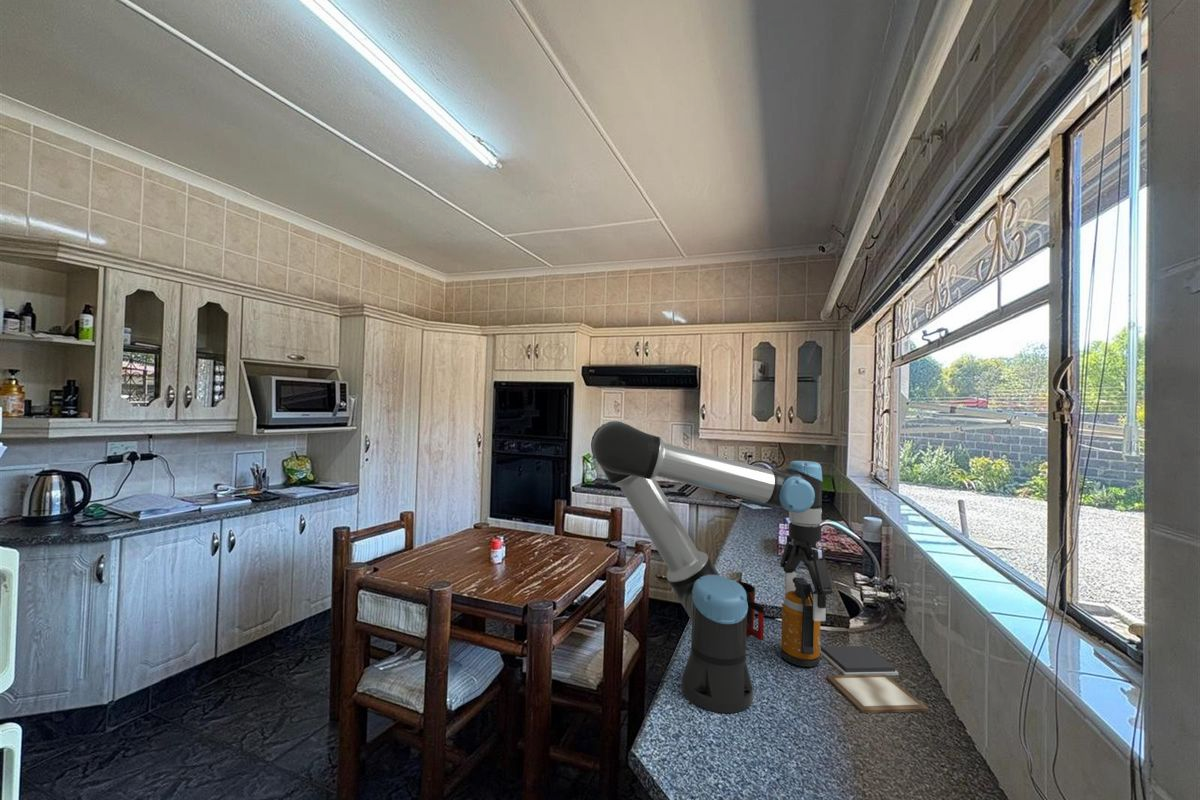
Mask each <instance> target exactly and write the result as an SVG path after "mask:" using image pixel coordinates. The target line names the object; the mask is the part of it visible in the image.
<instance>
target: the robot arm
mask: <svg viewBox="0 0 1200 800" xmlns="http://www.w3.org/2000/svg"><path fill="white" fill-rule="evenodd" d="M590 449H591V453H592V455H593V457H594V459H595V460H596V462H597V463H598V465H599V466H600V468H601V469H602V471H603V473H604V474H605V476H606V478H607V479H608V481H609V483H610V484H611V486H616V487H619V488H620V490H621V491H622V493H623V495H624V496H625V498H626V499H627V502H628V503H629V504H630V506H631V508H632V510H633V511H634V513H635V515H636V517H637V518H638V520H639V522H640V523H641V525H642V526H643V529H644V530H645V532H646V533H647V535H648V537H649V538H650V540H651V542H652V544H653V545H654V547H655V549H656V550H657V552H658V554H659V555H660V557H661V558H662V561H663V562H664V564H665V566H666V567H667V572H666V578H667V581H668V582H669V584H670V586H671V588H672V589H673V592H674V593H675V595H676V597H677V599H678V602H680V603H681V605H682V607H683V608H684V610H685V612H686V613H687V615H688V617H689V619H690V621H691V637H690V638H691V640H690V642H691V643H690V654H689V656H688V658H687V661H686V664H685V667H684V669H683V672H682V675H681V689H682V690H681V691H682V693H683V694H684V696H685V697H686V698H687V699H688V700H689V701H690V702H691V703H692V704H694V705H696V706H699V707H700V708H702V709H705V710H708V711H711V712H715V713H721V714H722V713H723V714H731V713H733V714H734V713H739V712H743V711H746V710H747V709H749V707H751V706H752V704H753V701H754V685H753V682H752V678H751V675H750V672H749V668H748V665H747V662H746V653H747V637H746V630H747V612H748V603H747V595H746V591H745V590H744V588H743V587H742V586H741V585H740V584H739V583H738V582H736V581H737V580H734V579H731V578H729V577H727V576H723V575H720V574H719V572H718V570H717V568H716V567H715V566H714V564H713V563H712V560H711V559H710V557H709V556H708V554H707V553H706V552H703V551H699V550H698V549H697V547H696V546H695V543H694V541H693V540H692V538H691V537H690V535H689V534H688V532H687V529H686V528H685V527H684V525H683V524H682V522H681V519H680V518H679V516H678V515H677V513H676V512H675V510H674V508H673V506H672V504H671V502H670V501H669V500H668V498H667V496H666V495H665V493H664V491H663V490H662V488H661V486H660V484H659V482H658V481H657V479H656V477H658V478H663V479H666V480H670V481H674V482H677V483H682V484H686V485H690V486H695V487H699V488H703V489H707V490H709V491H713V492H719V493H723V494H726V495H731V496H735V497H738V498H742V499H745V500H746V499H747V500H749V501H755V502H758V503H762V504H766V505H770V506H774V507H777V508H780V509H781V508H782V509H784V510H786V511H788V520H789V521H790V522H789V523H788V535H787V536H786V544H785V547H784V551H783V554H782V556H781V560H780V567H781V568H783V571H784V596H785V595H786V593H787V592H789V591H795V589H796V588H795V587H794V584H795V583H793V579H794V577H797V573H796V572H797V567H798V566H799V565H800V562H803V564H804V566H805V567H807V570H808V575H809V576H810V579H811V582H812V584H813V588H814V591H813V620H814V621H821V622H825V621H826V618H827V617H826V614H827V613H826V610H827V609H826V608H827V595H833V593H834V591H833V587H832V583H831V579H830V573H829V569H828V566H827V561H826V551H825V549H824V548H823V549H818V547H817V543H819V542H821V541H822V526H821V524H822V513H823V511H822V502H823V500H822V497H823V481H824V480H823V470H822V465H821V464H820V463H819V462H816V461H811V460H809V461H808V460H793V461H791V462H789V466H788V468H783V469H782V468H763V467H759V466H756V465H753V464H747V463H745V462H740V461H736V460H732V459H728V458H724V457H721V456H718V455H717V456H716V455H712V454H709V453H705V452H702V451H697V450H694V449H689V448H684V447H681V446H677V445H673V444H670V443H665V442H664V441H663V439H662V438H661V437H660V436H656V435H653V434H649V433H646V432H644V431H642V430H640V429H637V428H635V427H634V426H632V425H629V424H627V423H626V422H625V423H624V421H623V422H622V421H618V420H617V421H616V420H614V421H613V420H612V421H608V422H605V423H604V424H601V426H599V427H598V428H597V429H596V430H595V431H594V433H593V435H592V437H591V442H590Z"/></svg>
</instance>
